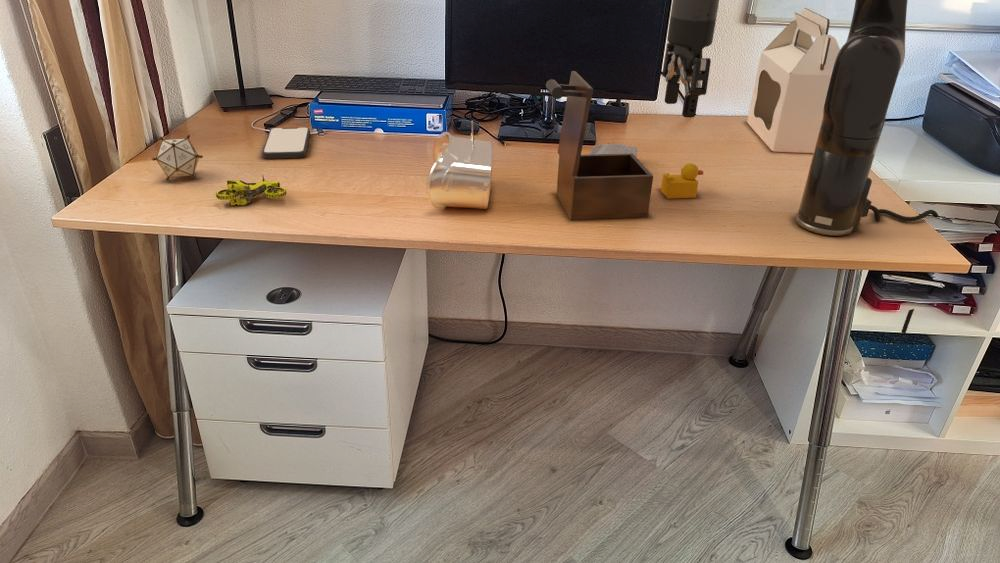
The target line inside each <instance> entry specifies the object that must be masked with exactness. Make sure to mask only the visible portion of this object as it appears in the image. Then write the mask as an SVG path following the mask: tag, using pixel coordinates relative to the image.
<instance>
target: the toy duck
mask: <svg viewBox="0 0 1000 563" xmlns="http://www.w3.org/2000/svg"><path fill="white" fill-rule="evenodd" d="M703 175H704V171H703V170H701V169H699V167H698V166H697V165H696V164H695V163H690V162H688V163H685V164H684V165H683V166H682V167H681V169H680V174H671V173H669V172H665V173H663V174H662V178H661V186H660V192H661V193H662V194H663V195H664V196H665V198H667V199H693V198H694V199H695V198H696V197H697V192H698V187H699V181H698V180H697V179H696V178H697V177H698V176H703Z"/></svg>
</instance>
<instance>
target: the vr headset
mask: <svg viewBox="0 0 1000 563" xmlns="http://www.w3.org/2000/svg"><path fill="white" fill-rule="evenodd" d="M474 133H475V132H474V120H471V133H470V138H469V137H461V136H456V135H453V134H451V133H450V132H448V131H443V132H441V133H440V134H439V135H438V136H436V138H435V140H434V143H433V147H432V159H433V164H432V166H431V168H430V170H429V172H428V175H427V179H426V189H425V190H426V195H427V200H428V201H429V203H430V205H431V206H433V207H434V208H436V209H441V208H445V207H450V208H465V209H467V208H469V209H483V210H487V209H488V205H489V200H490V194H491V184H492V175H493V156H494V154H493V144H492V141H491V140H483V139H475V134H474Z"/></svg>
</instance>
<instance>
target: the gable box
mask: <svg viewBox="0 0 1000 563" xmlns="http://www.w3.org/2000/svg"><path fill="white" fill-rule="evenodd" d="M794 17H795V20H792V21H791V22H790V23H789V24H788V25H787V26H786V27H784V29H782V31H781V32H780V33H779V34H778V35H777V36H776V37H775V38H774V39H773V40H772V41H771V42H770V43H769V44H768V45H767V46H766V47H765V49H764V50H762V51H761V52H760V57H759V61H758V66H757V71H756V75H755V80H754V85H753V90H752V95H751V99H750V100H751V101H750V104H749V110H748V115H747V120H746V123H747V124H748V125H749V126H750V128H751V129H752V130H753V131H754V132H755V134H757V136H758V137H759V138H760V139H761V140H762V142H763V143H764V144H765V145H766V146H767V147H768V148H769V149H770V151H771V152H774V153H795V154H797V153H798V154H814V150H815V146H816V142H817V138H818V134H819V130H820V127H821V122H822V118H823V108H824V104H825V100H826V95H827V91H828V87H829V83H830V79H831V75H832V71H833V67H834V63H835V60H836V57H837V55H838V53H839V51H840V49H841V47H840V46H839V43H838V41H837V39H836V37H835V36H832V35H831V34H829V30H830V23H831V22H830V19H829V18H827V17H825V16H823V15H822V14H819V13H817V12H815V11H813V10H811V9H809V8H807V7H803V8H802V9H801V11H800V14H799V13H797V12H794ZM813 38H814V39H815V40H814V41H813Z"/></svg>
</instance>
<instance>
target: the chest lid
mask: <svg viewBox="0 0 1000 563" xmlns="http://www.w3.org/2000/svg"><path fill="white" fill-rule="evenodd" d="M545 88H546V90H547V91H548V93H549V94H550V95H551V97H552V98H553V99H555V100H560V99H562V98H563V97H564V96H566V101H565V106H564V112H563V116H562V118H563V119H562V124H561V129H560V135H559V142H558V145H557V146H558V148H557V155H558V157H559V156H560V157H561V159H562V160H563V162H564V163H565V165H566V166H567V168H568V170H569V171H570V173H571V174H572V176H577V172H578V167H579V162H580V157H581V155H582V150H583V146H584V140H585V135H586V130H587V124H588V119H589V114H590V108H591V104H592V98H593V93H594V88H593V87H592V86H591V85H590V84H589V83H588V82H587V81H586V80H585V79H584V78H583V77H582V76H581V75H580V74H579V73H578V72H577V71H576V70H571V72H570V77H569V83H568V84H562V83H558V82H557V81H556V80H555V79H552V78H551V79H549V80H547V81H546V83H545Z"/></svg>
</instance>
